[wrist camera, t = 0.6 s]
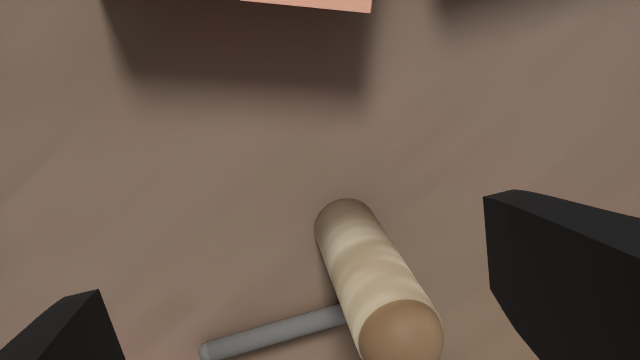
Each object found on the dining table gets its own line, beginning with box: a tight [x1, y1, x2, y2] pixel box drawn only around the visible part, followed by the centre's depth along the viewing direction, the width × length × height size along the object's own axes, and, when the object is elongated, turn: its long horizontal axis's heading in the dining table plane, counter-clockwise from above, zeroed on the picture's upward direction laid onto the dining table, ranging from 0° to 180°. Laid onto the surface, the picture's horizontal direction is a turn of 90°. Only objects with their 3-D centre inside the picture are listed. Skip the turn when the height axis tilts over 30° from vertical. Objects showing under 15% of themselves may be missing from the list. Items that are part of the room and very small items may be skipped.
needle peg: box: [314, 199, 444, 360], centre depth 18 cm, size 2×2×8 cm
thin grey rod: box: [199, 303, 347, 360], centre depth 22 cm, size 9×1×1 cm, turn 102°
